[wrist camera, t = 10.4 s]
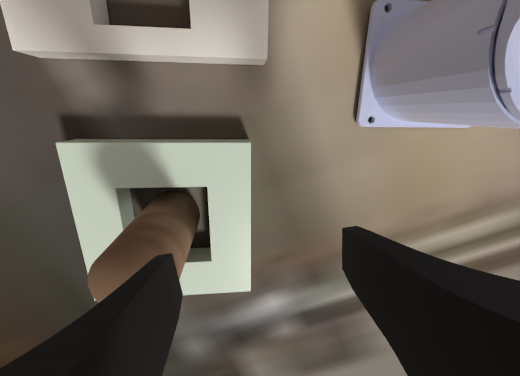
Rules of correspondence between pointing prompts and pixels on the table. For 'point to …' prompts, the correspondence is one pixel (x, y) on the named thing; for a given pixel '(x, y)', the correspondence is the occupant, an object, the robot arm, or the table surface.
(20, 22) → the socket block
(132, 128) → the table surface
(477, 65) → the robot arm
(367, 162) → the table surface
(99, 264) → the peg
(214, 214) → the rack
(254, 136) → the table surface
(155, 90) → the table surface
